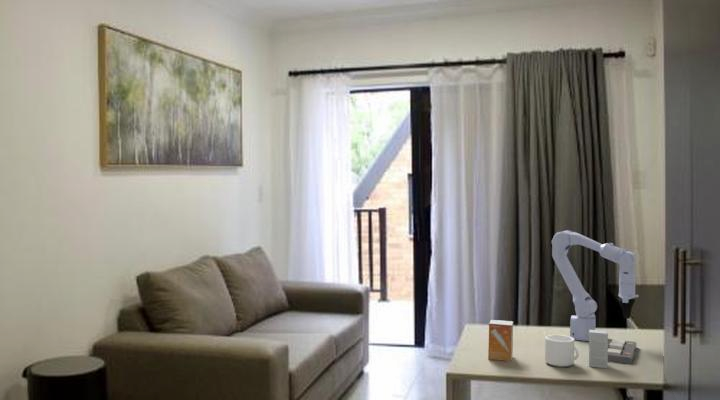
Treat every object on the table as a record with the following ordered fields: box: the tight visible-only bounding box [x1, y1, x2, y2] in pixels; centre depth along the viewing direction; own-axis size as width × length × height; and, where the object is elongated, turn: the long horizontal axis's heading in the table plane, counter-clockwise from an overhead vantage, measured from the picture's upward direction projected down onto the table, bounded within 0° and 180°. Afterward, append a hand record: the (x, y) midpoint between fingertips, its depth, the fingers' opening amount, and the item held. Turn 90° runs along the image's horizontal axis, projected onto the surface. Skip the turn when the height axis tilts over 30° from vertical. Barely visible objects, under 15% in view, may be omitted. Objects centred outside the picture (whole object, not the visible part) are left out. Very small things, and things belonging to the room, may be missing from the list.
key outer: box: [608, 348, 621, 355], centre depth 228 cm, size 4×4×2 cm
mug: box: [544, 334, 579, 368], centre depth 221 cm, size 12×10×9 cm
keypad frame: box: [608, 338, 637, 365], centre depth 234 cm, size 12×23×2 cm, turn 153°
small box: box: [487, 319, 514, 362], centre depth 228 cm, size 8×6×13 cm
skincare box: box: [588, 329, 609, 369], centre depth 219 cm, size 6×4×12 cm
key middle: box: [609, 342, 623, 350], centre depth 234 cm, size 4×4×2 cm
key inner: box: [612, 338, 626, 345], centre depth 241 cm, size 4×4×2 cm
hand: (626, 318), depth 245 cm, fingers closed
